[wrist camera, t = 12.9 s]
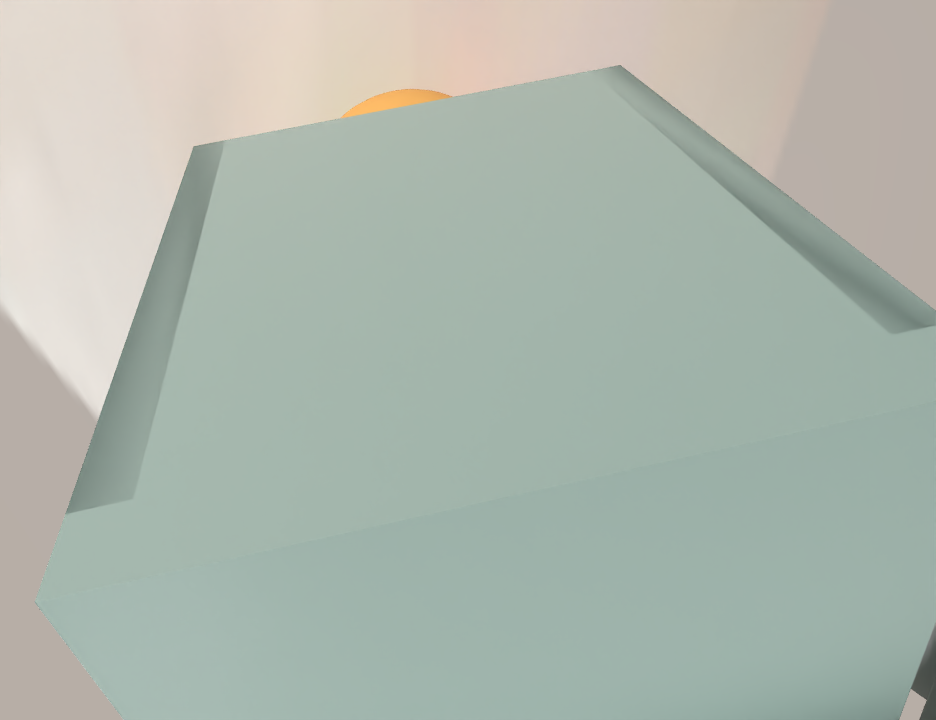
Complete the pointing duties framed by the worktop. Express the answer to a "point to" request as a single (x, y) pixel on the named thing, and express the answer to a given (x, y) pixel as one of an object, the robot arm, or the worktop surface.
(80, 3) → the worktop surface
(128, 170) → the worktop surface
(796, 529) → the sage green upright block
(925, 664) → the robot arm
